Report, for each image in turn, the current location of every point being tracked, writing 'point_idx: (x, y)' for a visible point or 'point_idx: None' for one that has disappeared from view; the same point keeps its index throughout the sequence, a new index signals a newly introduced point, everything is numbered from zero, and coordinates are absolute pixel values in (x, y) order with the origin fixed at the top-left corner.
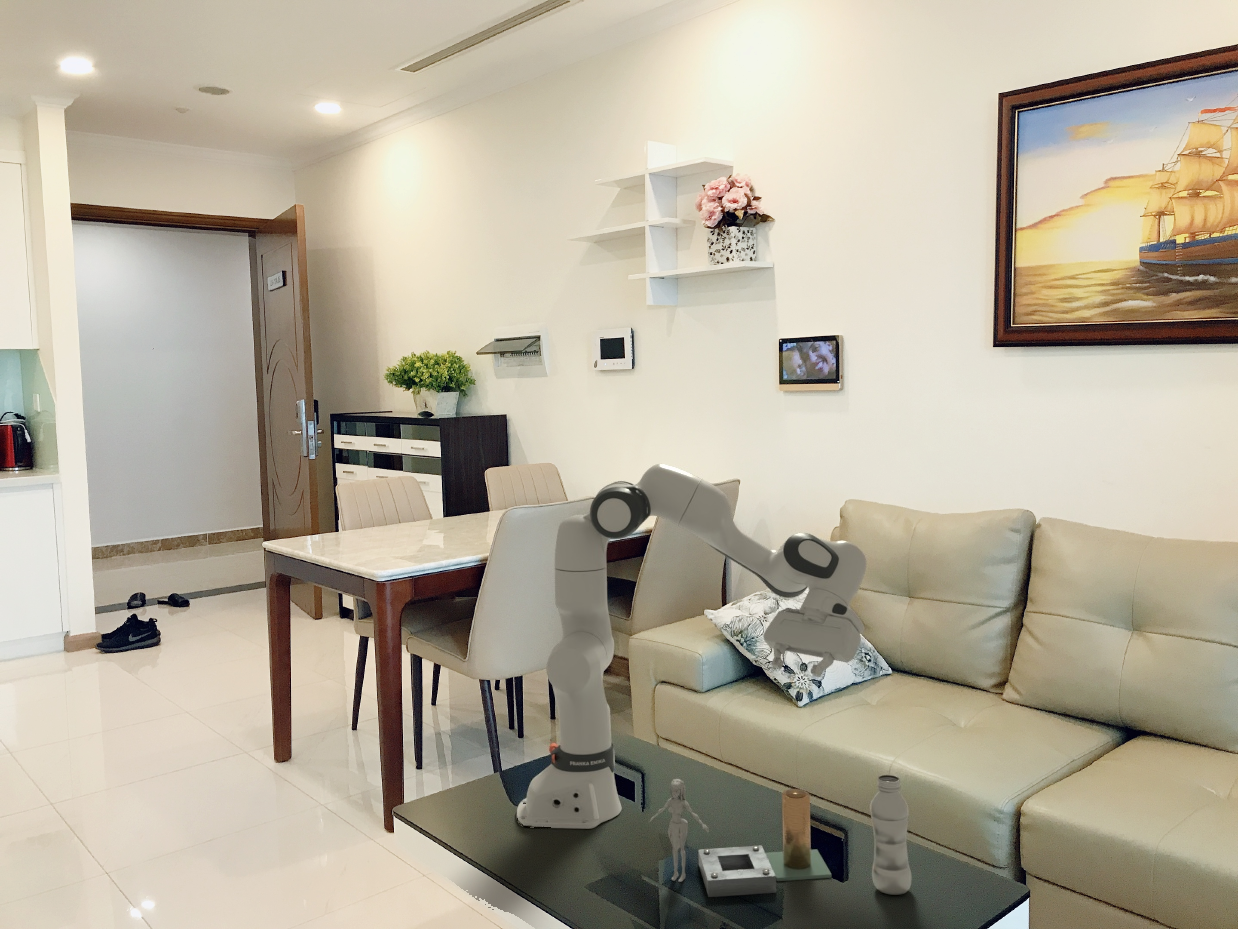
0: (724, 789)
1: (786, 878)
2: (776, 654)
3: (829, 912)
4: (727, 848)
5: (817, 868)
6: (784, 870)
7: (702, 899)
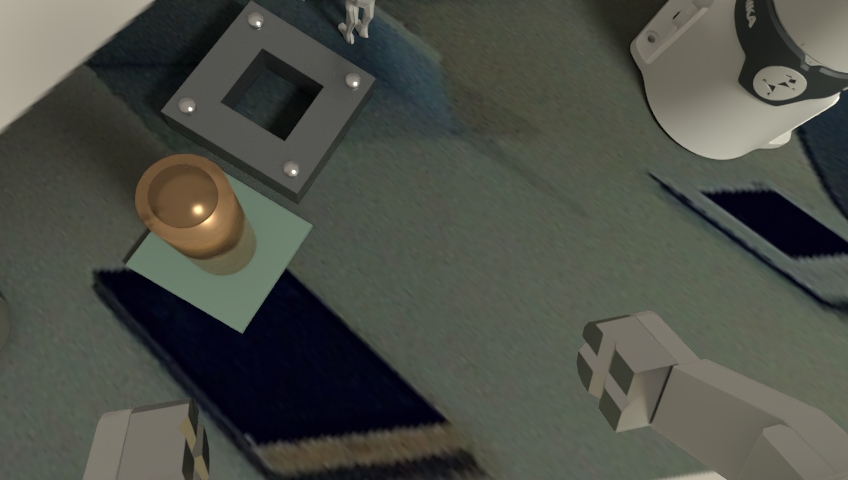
0: None
1: None
2: (705, 378)
3: (24, 148)
4: (337, 125)
5: (170, 261)
6: None
7: None
